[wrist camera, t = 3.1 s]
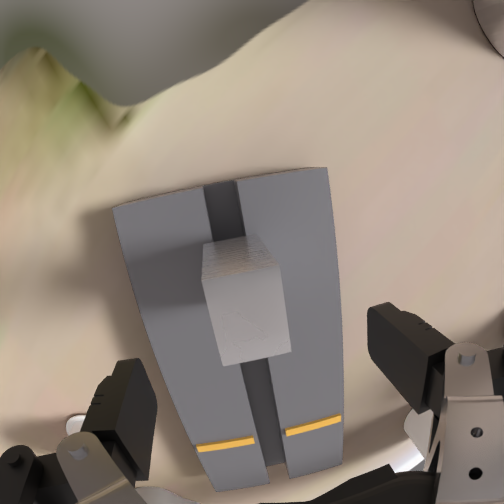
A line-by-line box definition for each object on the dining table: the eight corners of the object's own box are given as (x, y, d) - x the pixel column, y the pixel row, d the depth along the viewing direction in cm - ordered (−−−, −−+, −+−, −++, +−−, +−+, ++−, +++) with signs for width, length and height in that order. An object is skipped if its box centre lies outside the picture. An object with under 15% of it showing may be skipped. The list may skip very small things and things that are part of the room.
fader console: (124, 202, 20) (110, 208, 17) (311, 167, 21) (328, 167, 18) (214, 470, 28) (216, 494, 25) (333, 444, 29) (343, 466, 26)
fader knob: (204, 233, 21) (201, 280, 12) (249, 224, 21) (279, 264, 12) (216, 290, 22) (223, 366, 13) (259, 281, 22) (291, 351, 13)
